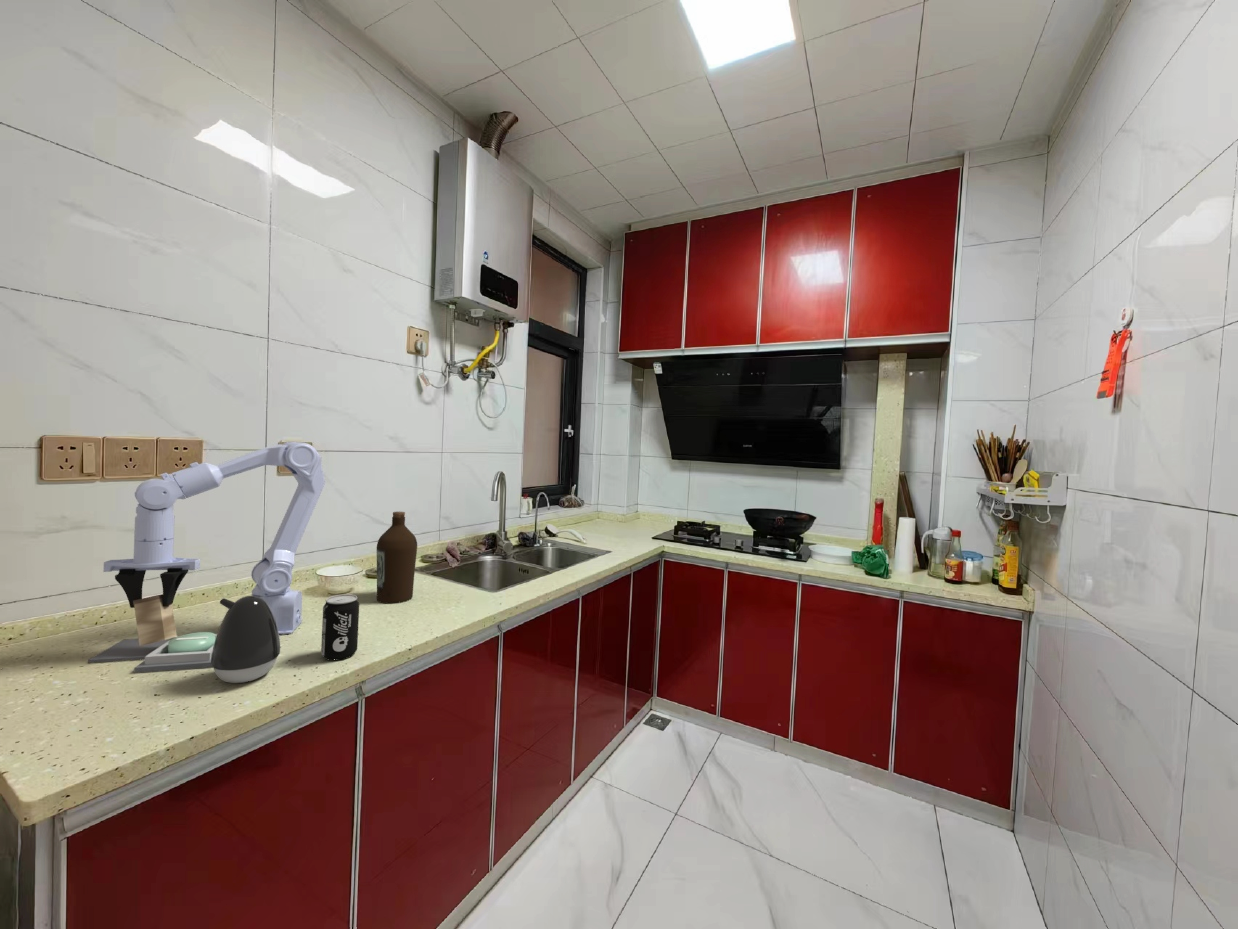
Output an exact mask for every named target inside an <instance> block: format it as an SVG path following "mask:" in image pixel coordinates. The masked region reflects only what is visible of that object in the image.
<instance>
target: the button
mask: <svg viewBox="0 0 1238 929" xmlns="http://www.w3.org/2000/svg"><path fill="white" fill-rule="evenodd" d="M215 634H216V633H214V632H210V631H209V632H208V631H199V632H192V633H191V632H190V633H186V634H183V635H177V636H178V637H176V638H173V639H172V640H170V641H169V642H168V653H184V652H200V651H207V650H208V649H210V648H211V647H212V646H213V645H214V642H215Z"/></svg>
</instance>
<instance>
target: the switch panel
mask: <svg viewBox="0 0 1238 929" xmlns="http://www.w3.org/2000/svg"><path fill="white" fill-rule="evenodd" d="M214 634H215V638H216V635H217V633H214ZM178 636H179V635H177V637H178ZM174 638H176V637H174ZM172 639H173V638H172ZM172 639H171V640H172ZM169 641H170V640H169ZM169 641H168V642H169ZM168 642H166V643H165V644H163V645H162V646H160V647H159V648H157V649H156V650H154V651H153V652H151V653H150V654H148V655H147V656H146V657H145V660H142V662H140V663H139V664H138V665H136V666H135V667H133V673H134V674H139V673H138V672H142V673H151V672H152V673H153V672H169V671H181V670H182V671H183V670H185V671H186V670H195V669H196V670H197V669H209V668H212V669H214V668H213V667H212V666H211V655H212V650H213V646H214V645H213V646H212V647H211V648H210V649H208V650H207V651H200V652H184V653H168Z"/></svg>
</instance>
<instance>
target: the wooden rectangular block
mask: <svg viewBox="0 0 1238 929" xmlns="http://www.w3.org/2000/svg"><path fill="white" fill-rule="evenodd" d="M162 599H163V593H162V594H156V595H153V596H152V595H151V596H148V597H142V599H138V600H134V601H133V604H134V616H135V621H136V630H137V636H138V638H139V645H140V646H143V645H147V644H151V643H155V642H159V641H163V640H167V639H170V638H173V637H177V636H178V634H177V630H176V622H175V621H176V620H175V616H174V615H175V614H174V608H173V604H171V605H169V606H167V607H163V604H162Z"/></svg>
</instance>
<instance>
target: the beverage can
mask: <svg viewBox="0 0 1238 929" xmlns="http://www.w3.org/2000/svg"><path fill="white" fill-rule="evenodd" d="M359 618H360V603H359V600H358V596H357V595H355V594H346V593H345V594H335V595H332V596H329V597H327V598H326V599H325V603H324V605H323V607H322V623H321V624H322V625H321V627H322V628H321V649H320V654H321V656H322V657H323V658H324V659H325V660H327V659H329V660H328V661H337V660H336V659H342V660H345V659H347V658H346V657H348V658H350V657H352V656H353V655H354V654H355V653H356V652H357V650H358V640H359V638H358V637H359V622H360V620H359ZM352 654H353V655H352ZM351 655H352V656H351ZM349 656H350V657H349ZM344 658H345V659H344ZM334 659H335V660H334Z"/></svg>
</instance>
